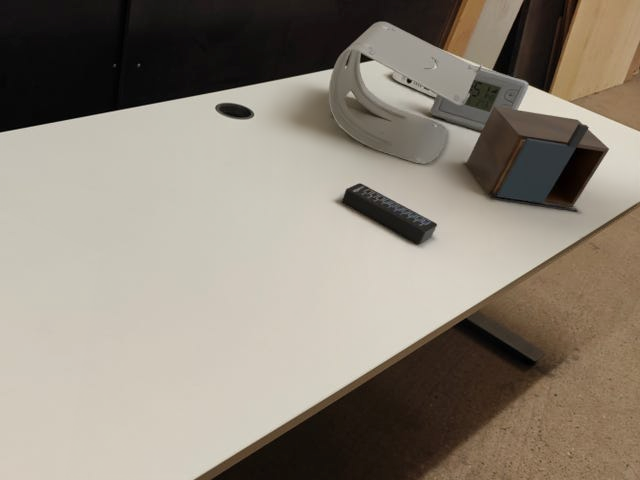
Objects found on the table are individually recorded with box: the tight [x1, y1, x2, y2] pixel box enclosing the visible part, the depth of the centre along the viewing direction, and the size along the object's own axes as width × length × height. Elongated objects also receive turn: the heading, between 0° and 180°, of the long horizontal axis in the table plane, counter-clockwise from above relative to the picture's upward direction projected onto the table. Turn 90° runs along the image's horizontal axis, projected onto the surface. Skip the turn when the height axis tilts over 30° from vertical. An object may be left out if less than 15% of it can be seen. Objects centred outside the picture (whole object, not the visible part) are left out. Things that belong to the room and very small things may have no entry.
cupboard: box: [466, 106, 610, 213], centre depth 119 cm, size 14×16×11 cm
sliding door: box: [496, 123, 590, 203], centre depth 112 cm, size 1×8×14 cm, turn 89°
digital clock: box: [430, 65, 529, 133], centre depth 139 cm, size 16×9×11 cm, turn 54°
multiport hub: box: [341, 182, 438, 245], centre depth 105 cm, size 4×14×2 cm, turn 44°
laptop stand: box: [328, 21, 483, 165], centre depth 128 cm, size 26×24×16 cm
